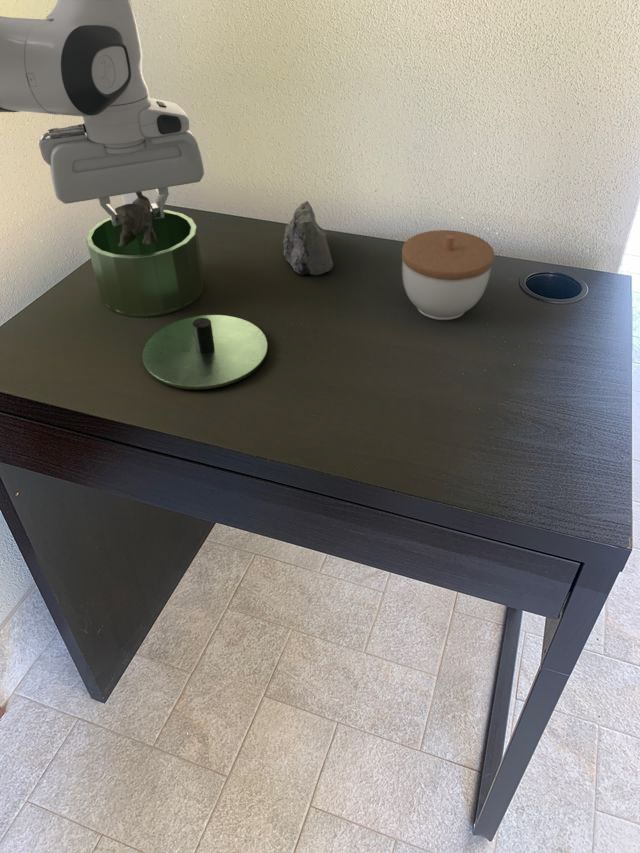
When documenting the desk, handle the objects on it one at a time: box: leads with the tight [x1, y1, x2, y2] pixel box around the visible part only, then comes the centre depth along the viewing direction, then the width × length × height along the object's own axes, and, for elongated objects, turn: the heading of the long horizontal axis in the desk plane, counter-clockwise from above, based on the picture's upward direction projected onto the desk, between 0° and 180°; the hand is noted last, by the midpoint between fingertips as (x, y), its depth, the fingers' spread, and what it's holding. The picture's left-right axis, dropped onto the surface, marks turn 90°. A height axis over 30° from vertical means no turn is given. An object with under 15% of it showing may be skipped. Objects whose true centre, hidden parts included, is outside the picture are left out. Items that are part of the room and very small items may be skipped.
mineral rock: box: [282, 200, 334, 276], centre depth 109 cm, size 13×11×10 cm
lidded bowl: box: [401, 229, 495, 321], centre depth 97 cm, size 13×13×11 cm
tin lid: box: [142, 314, 269, 390], centre depth 90 cm, size 17×17×5 cm
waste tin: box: [85, 209, 205, 318], centre depth 102 cm, size 16×16×10 cm
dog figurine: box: [114, 191, 158, 247], centre depth 97 cm, size 12×6×7 cm, turn 7°
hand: (138, 220), depth 98 cm, fingers open, 4 cm apart
